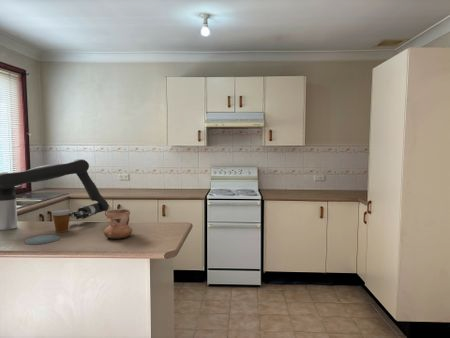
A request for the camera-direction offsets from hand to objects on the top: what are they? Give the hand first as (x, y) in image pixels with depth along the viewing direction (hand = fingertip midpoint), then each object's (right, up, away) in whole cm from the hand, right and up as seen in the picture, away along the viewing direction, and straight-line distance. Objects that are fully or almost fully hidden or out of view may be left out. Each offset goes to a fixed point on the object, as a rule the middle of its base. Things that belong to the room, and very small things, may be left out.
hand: (70, 217), depth 194 cm
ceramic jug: (+35, -8, -19) cm, 41 cm away
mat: (-3, -8, -25) cm, 26 cm away
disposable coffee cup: (-1, -7, -7) cm, 10 cm away
